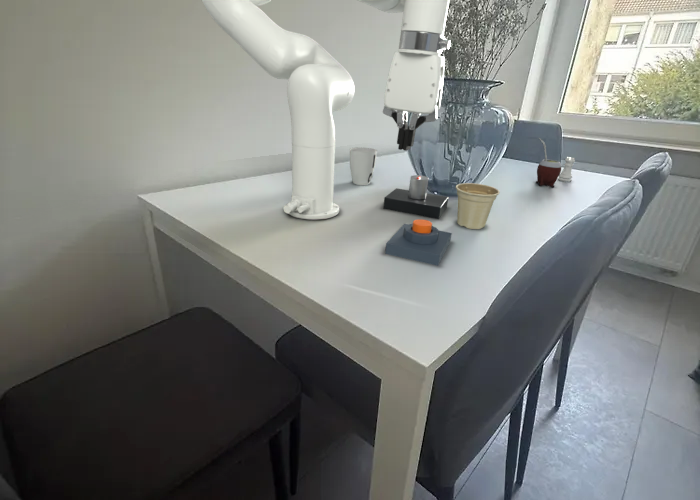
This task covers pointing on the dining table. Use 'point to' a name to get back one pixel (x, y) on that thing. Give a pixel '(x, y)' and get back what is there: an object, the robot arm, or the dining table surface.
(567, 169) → the rook chess piece
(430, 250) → the button housing
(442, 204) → the panel
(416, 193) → the dial
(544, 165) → the mate gourd
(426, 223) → the button
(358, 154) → the cup
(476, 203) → the flower pot
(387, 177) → the dining table surface
